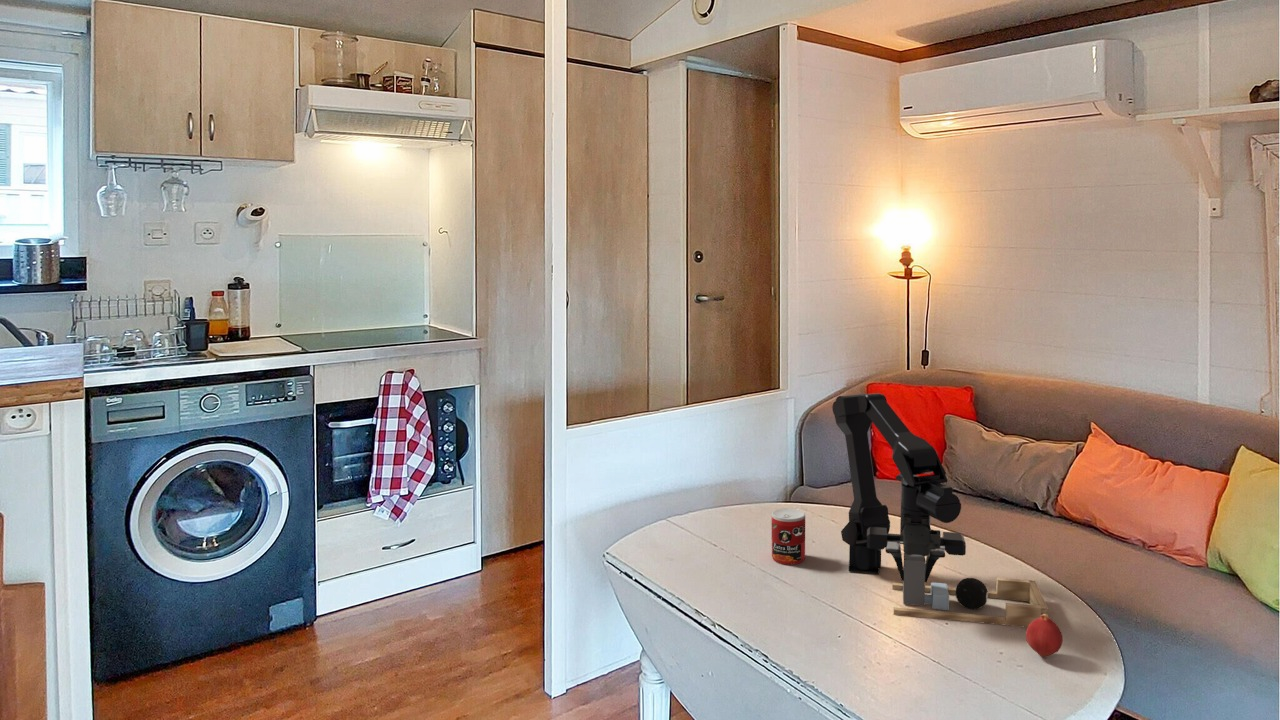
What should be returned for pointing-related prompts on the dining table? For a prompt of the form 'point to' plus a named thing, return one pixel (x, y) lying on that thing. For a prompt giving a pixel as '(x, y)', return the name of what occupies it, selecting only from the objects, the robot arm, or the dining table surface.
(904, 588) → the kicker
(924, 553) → the robot arm
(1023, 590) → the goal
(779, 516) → the canned food
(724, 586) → the dining table surface
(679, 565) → the dining table surface
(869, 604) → the dining table surface
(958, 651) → the dining table surface
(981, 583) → the billiard ball
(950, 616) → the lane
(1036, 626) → the onion
